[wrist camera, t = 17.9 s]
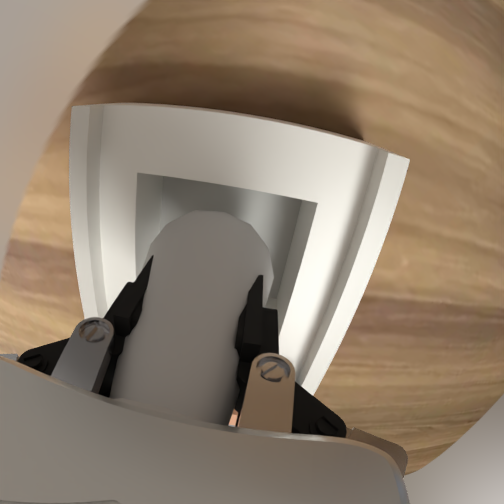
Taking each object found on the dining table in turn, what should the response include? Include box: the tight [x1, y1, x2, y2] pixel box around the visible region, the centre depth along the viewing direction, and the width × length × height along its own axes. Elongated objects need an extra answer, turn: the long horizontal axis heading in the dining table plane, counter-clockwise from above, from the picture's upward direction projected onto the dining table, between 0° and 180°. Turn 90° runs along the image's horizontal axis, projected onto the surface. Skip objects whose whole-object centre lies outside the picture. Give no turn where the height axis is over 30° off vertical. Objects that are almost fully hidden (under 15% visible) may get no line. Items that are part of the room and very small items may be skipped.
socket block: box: [69, 103, 410, 395], centre depth 18 cm, size 22×14×6 cm, turn 170°
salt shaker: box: [109, 210, 274, 426], centre depth 10 cm, size 6×6×13 cm
